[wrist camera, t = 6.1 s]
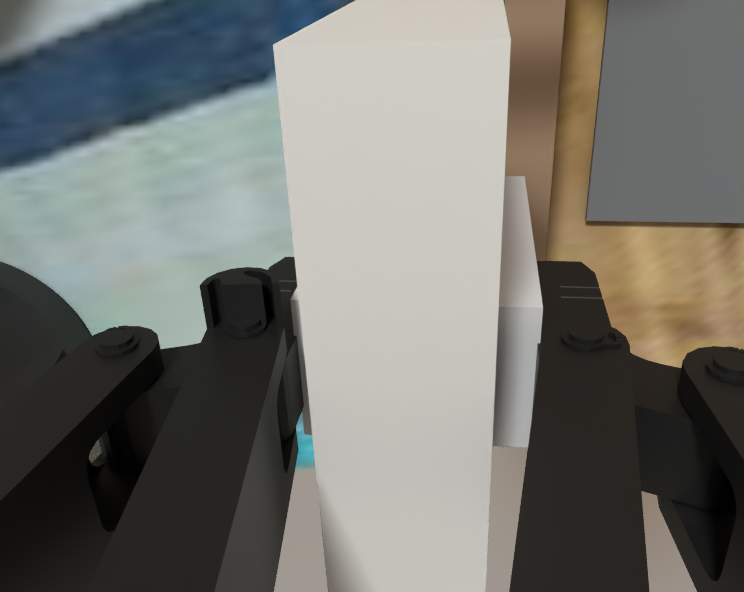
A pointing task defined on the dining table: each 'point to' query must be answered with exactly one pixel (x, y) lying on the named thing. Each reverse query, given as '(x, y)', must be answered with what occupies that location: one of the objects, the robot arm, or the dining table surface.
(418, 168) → the rectangular insert block
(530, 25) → the slot box
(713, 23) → the rubber mat
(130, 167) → the dining table surface
